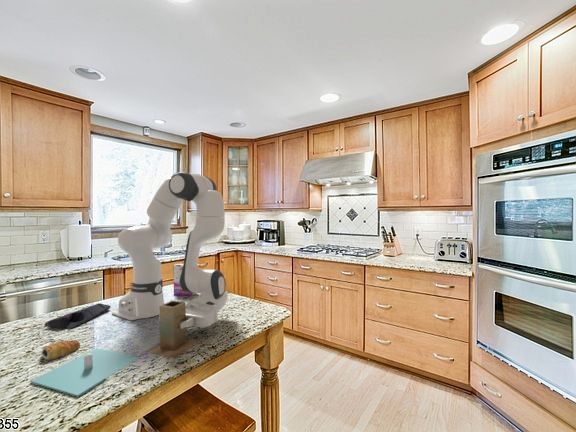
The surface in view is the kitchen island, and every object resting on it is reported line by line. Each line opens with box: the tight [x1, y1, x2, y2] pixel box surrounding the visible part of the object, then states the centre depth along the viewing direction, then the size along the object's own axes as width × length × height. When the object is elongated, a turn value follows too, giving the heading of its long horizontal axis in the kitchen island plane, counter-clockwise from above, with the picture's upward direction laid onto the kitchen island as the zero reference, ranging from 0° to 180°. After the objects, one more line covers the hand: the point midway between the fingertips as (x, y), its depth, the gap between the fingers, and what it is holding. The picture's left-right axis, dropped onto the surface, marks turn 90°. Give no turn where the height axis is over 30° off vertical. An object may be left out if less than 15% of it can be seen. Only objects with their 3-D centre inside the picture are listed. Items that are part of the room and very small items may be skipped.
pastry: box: [40, 339, 81, 361], centre depth 88 cm, size 9×7×4 cm
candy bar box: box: [172, 263, 197, 297], centre depth 148 cm, size 11×5×16 cm, turn 80°
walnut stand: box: [144, 337, 200, 359], centre depth 91 cm, size 12×12×6 cm
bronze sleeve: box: [159, 300, 187, 351], centre depth 91 cm, size 6×6×14 cm
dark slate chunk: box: [43, 303, 111, 330], centre depth 117 cm, size 15×22×5 cm
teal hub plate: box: [29, 347, 140, 398], centre depth 78 cm, size 18×18×5 cm
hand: (171, 324), depth 90 cm, fingers closed on bronze sleeve, 6 cm apart
